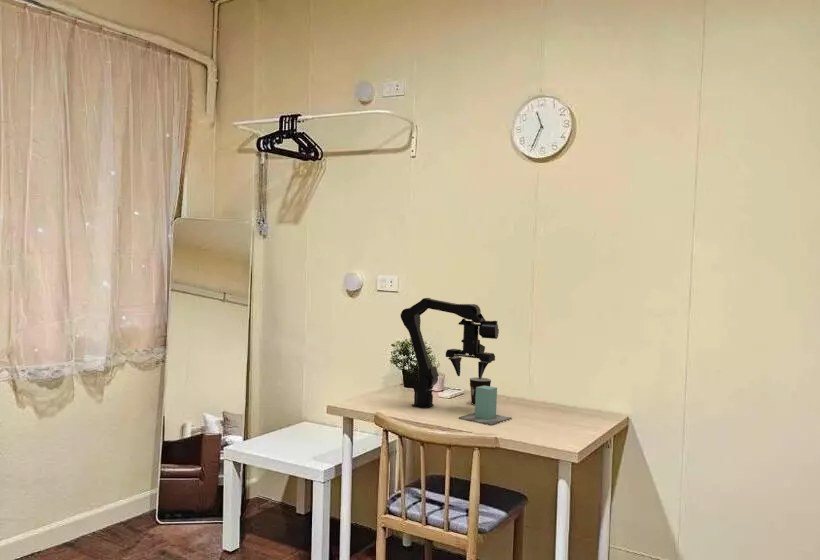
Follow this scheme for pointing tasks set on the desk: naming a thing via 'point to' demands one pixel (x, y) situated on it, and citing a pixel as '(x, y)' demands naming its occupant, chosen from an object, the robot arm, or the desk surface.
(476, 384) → the coffee mug
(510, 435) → the desk surface
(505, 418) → the flat grey base tile
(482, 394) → the teal rectangular pillar
